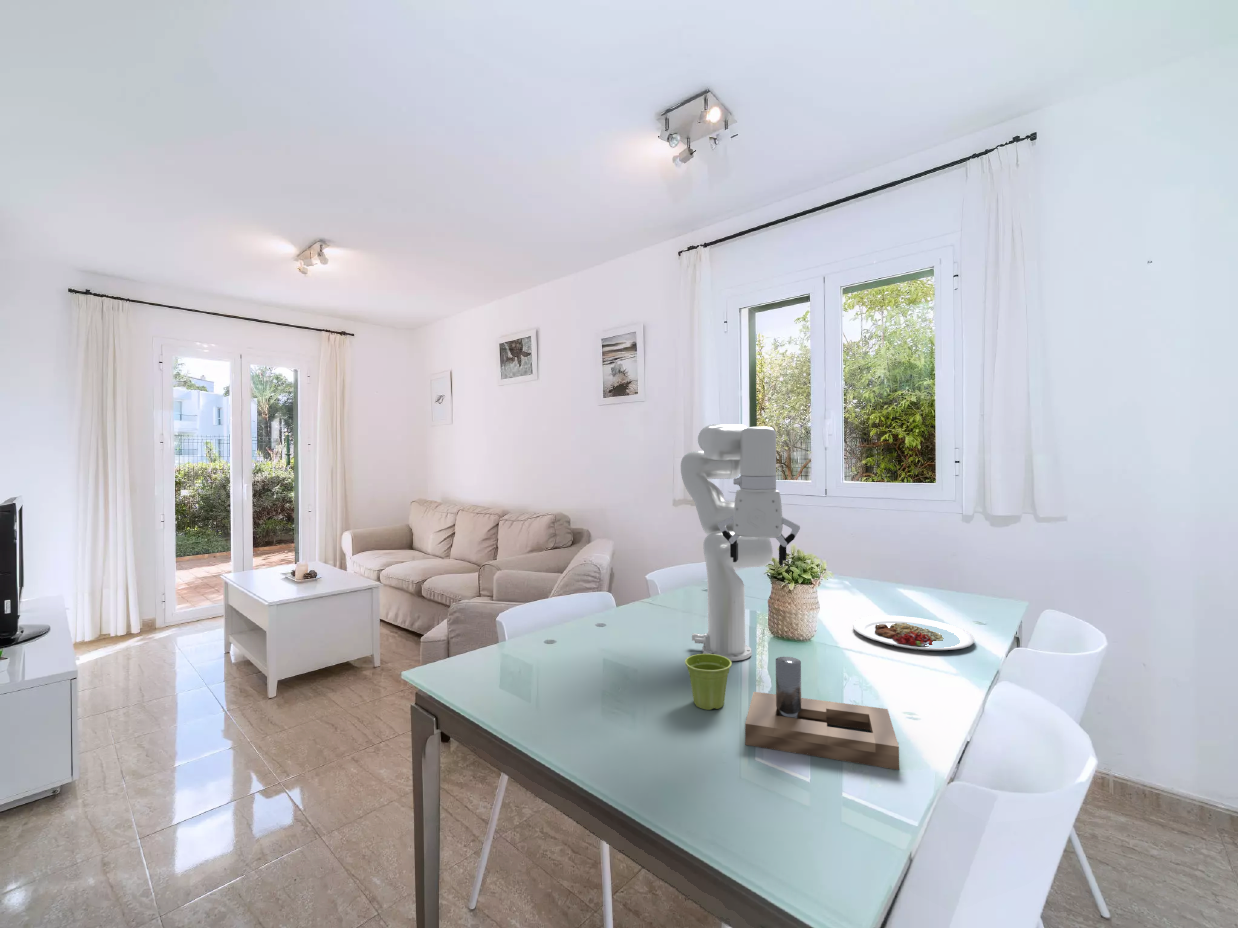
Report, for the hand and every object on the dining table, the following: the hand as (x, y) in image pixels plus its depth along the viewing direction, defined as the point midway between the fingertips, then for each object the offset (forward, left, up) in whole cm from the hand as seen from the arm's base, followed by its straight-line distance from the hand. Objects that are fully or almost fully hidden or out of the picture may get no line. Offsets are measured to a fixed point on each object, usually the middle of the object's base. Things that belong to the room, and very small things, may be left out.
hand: (758, 562), depth 117 cm
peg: (+7, -17, -28) cm, 33 cm away
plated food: (+37, +51, -28) cm, 69 cm away
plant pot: (-9, -10, -28) cm, 31 cm away
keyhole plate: (+12, -17, -28) cm, 35 cm away
